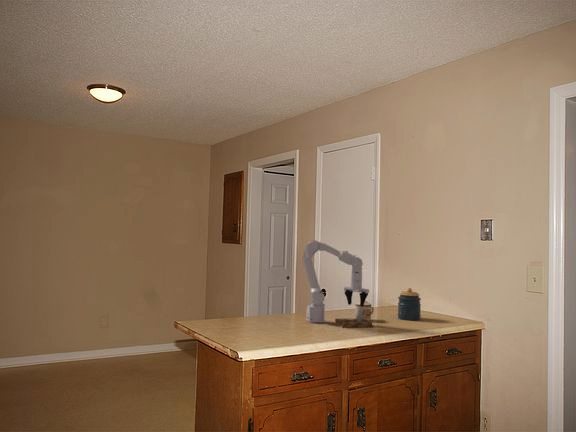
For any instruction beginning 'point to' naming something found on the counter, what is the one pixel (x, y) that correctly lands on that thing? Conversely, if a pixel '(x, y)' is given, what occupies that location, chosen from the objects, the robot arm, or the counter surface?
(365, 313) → the teacup with lid
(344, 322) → the groove board
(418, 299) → the canister
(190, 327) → the counter surface
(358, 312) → the peg
